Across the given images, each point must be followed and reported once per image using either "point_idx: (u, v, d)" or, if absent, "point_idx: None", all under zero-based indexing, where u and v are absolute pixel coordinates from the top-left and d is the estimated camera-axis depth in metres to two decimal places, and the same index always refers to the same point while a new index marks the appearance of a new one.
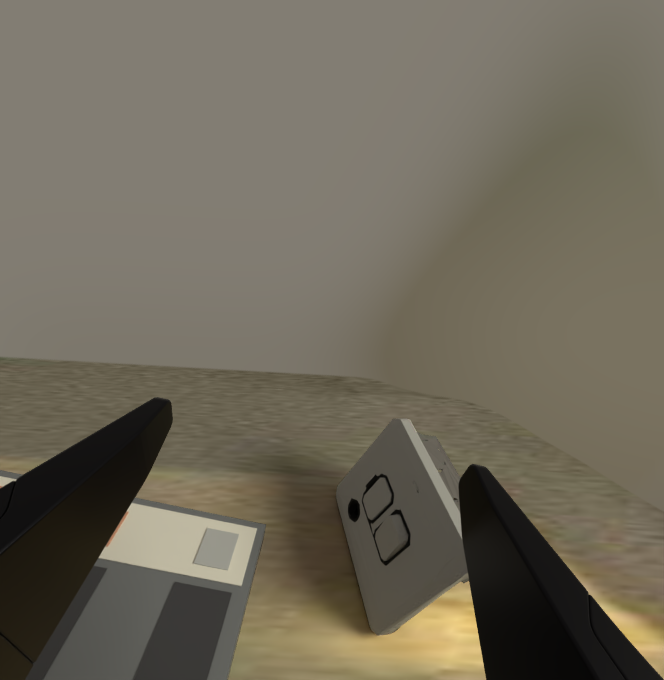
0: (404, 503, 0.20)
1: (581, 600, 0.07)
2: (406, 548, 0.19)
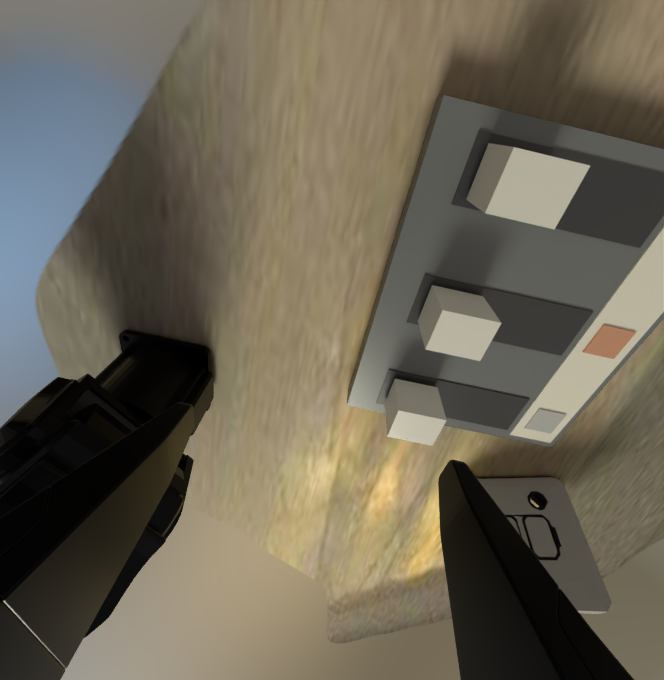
0: None
1: (550, 594, 0.06)
2: None
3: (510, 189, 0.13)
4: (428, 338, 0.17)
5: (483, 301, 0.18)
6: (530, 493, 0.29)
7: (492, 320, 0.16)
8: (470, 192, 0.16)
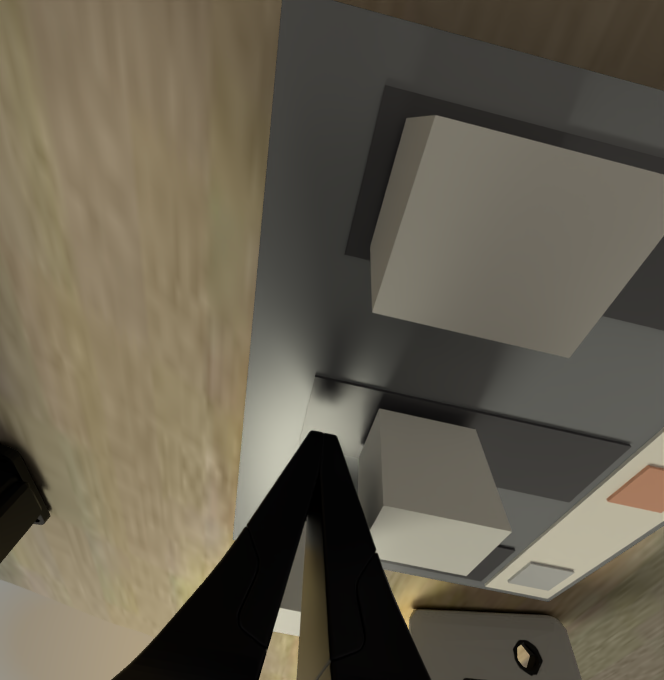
0: None
1: (361, 557, 0.06)
2: None
3: (437, 251, 0.04)
4: None
5: (475, 448, 0.09)
6: (517, 643, 0.20)
7: (492, 524, 0.08)
8: (374, 234, 0.07)
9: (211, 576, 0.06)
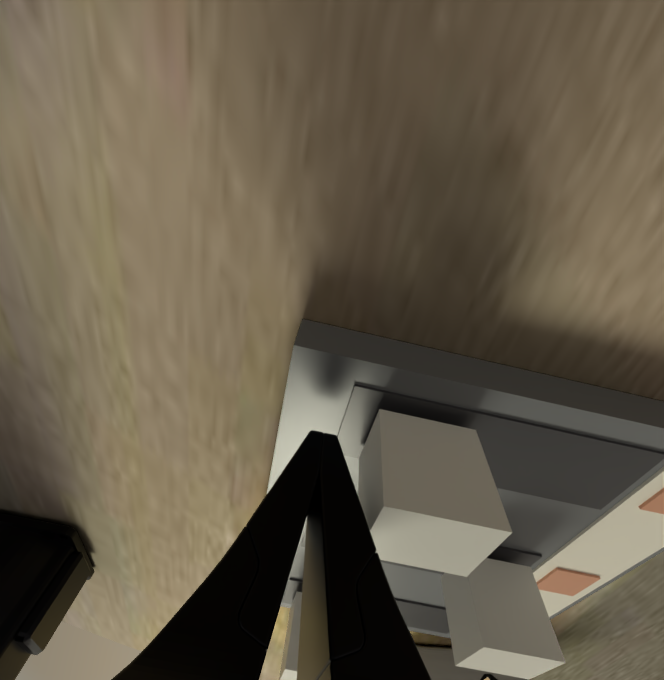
0: None
1: (361, 557, 0.06)
2: None
3: (389, 539, 0.08)
4: (459, 653, 0.13)
5: (532, 586, 0.13)
6: (483, 677, 0.24)
7: (552, 657, 0.12)
8: (361, 458, 0.11)
9: (211, 576, 0.06)
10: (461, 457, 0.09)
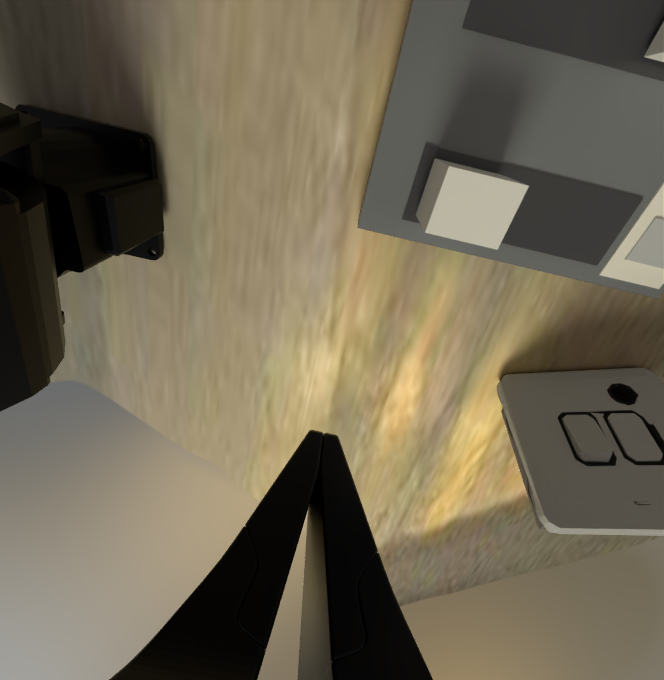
0: (621, 474, 0.17)
1: (362, 557, 0.06)
2: (572, 452, 0.18)
3: None
4: None
5: None
6: (611, 386, 0.20)
7: None
8: None
9: (210, 576, 0.06)
10: None
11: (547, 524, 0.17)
